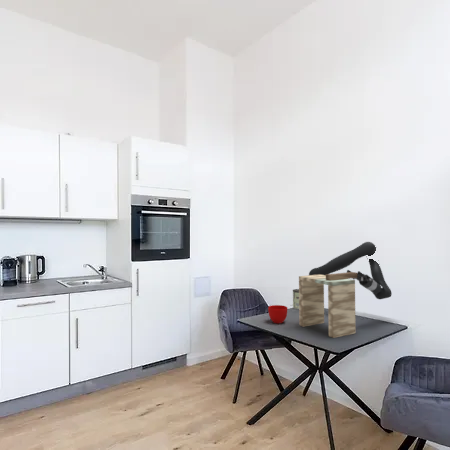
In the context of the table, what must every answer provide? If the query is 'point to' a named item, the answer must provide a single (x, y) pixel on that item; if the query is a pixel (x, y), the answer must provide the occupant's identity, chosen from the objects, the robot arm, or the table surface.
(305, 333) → the table surface
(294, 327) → the table surface
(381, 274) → the robot arm
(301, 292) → the bench
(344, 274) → the batten
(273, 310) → the ceramic cup
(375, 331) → the table surface
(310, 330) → the table surface
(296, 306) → the coffee can
